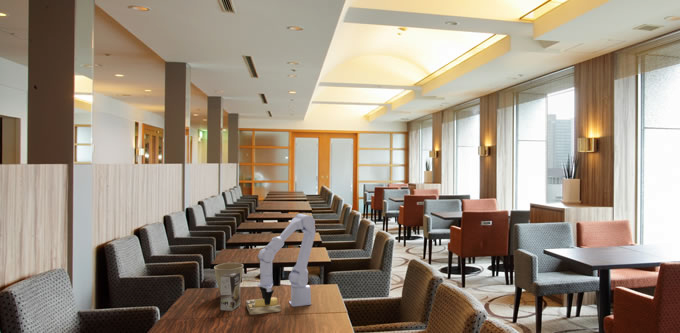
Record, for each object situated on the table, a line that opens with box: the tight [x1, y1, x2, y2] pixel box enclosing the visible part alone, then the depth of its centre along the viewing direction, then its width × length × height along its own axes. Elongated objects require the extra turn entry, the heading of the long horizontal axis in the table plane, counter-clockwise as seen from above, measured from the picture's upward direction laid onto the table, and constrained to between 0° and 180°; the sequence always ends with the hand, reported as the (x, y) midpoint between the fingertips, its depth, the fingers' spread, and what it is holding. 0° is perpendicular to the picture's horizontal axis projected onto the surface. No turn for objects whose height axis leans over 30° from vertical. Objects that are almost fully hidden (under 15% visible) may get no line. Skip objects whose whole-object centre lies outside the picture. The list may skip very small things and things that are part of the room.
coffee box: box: [220, 272, 241, 312], centre depth 217 cm, size 9×6×16 cm
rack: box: [245, 299, 282, 315], centre depth 216 cm, size 14×14×3 cm
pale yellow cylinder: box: [254, 297, 279, 308], centre depth 213 cm, size 10×4×4 cm, turn 109°
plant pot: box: [213, 262, 244, 294], centre depth 236 cm, size 15×15×16 cm
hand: (266, 303), depth 213 cm, fingers closed on pale yellow cylinder, 4 cm apart
